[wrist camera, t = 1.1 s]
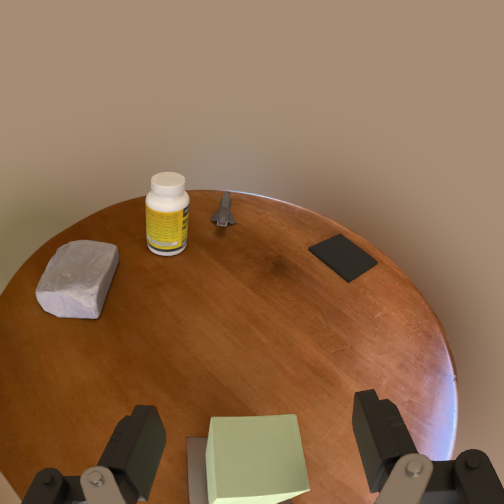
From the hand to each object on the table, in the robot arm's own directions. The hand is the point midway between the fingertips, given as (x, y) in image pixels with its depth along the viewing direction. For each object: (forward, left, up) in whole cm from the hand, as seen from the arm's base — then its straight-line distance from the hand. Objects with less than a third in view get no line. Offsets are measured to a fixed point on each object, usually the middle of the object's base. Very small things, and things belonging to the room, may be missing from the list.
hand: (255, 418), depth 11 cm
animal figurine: (+34, -25, -19) cm, 46 cm away
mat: (+16, -37, -18) cm, 44 cm away
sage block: (-1, -1, -14) cm, 15 cm away
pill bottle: (+32, -13, -19) cm, 39 cm away
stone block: (+30, +2, -19) cm, 36 cm away
